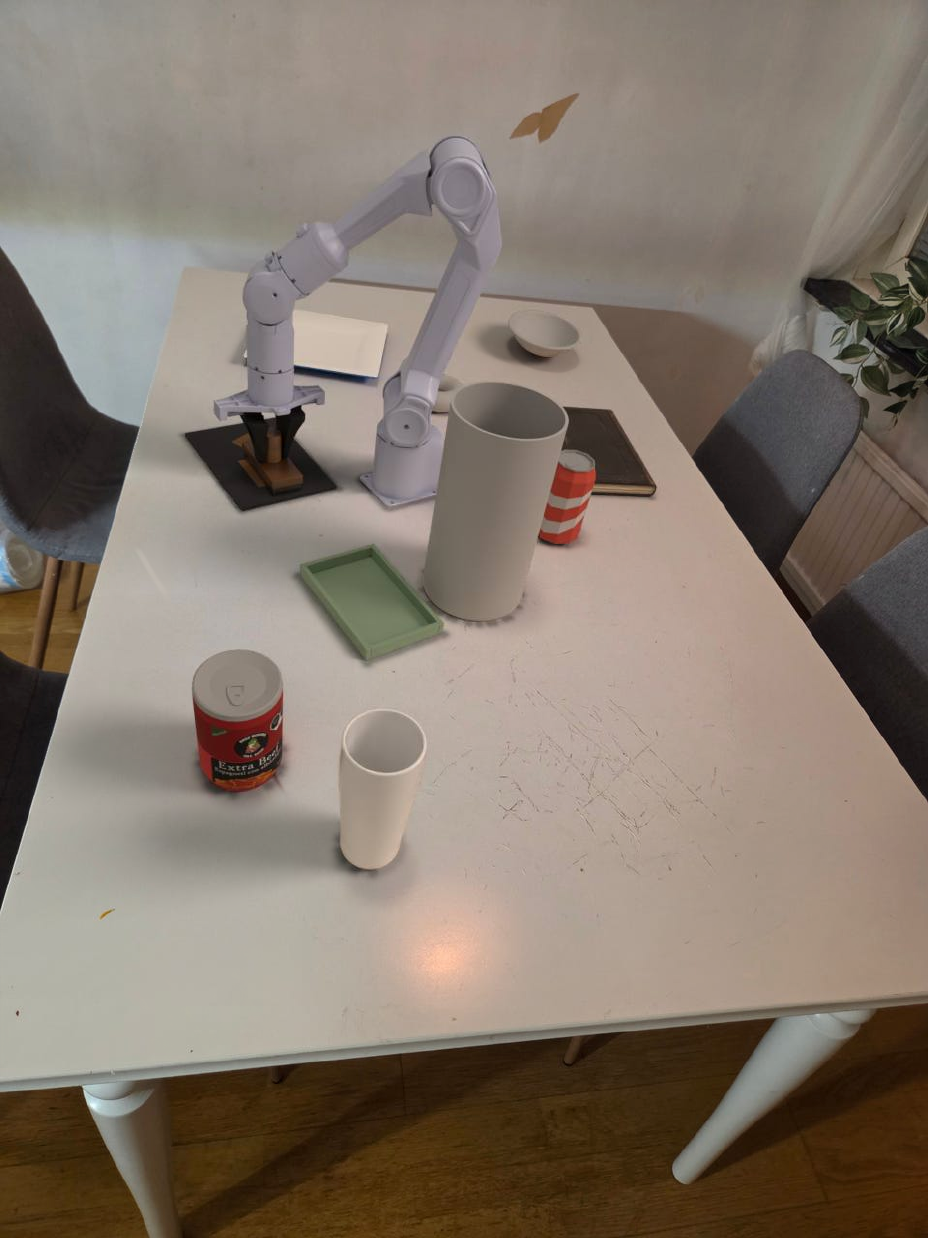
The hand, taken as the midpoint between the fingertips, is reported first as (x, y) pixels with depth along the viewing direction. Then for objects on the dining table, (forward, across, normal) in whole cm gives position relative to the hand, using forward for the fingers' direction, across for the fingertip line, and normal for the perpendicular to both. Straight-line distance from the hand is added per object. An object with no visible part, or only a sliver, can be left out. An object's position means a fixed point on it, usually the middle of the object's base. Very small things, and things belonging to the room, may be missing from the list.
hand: (271, 457), depth 109 cm
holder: (+3, 0, -29) cm, 29 cm away
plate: (+3, +24, +34) cm, 42 cm away
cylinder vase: (+3, +13, -32) cm, 34 cm away
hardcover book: (+3, +49, -11) cm, 51 cm away
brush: (+2, 0, 0) cm, 3 cm away
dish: (+3, +66, +22) cm, 69 cm away
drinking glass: (+3, -16, -57) cm, 60 cm away
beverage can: (+3, +30, -26) cm, 41 cm away
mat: (+3, 0, +4) cm, 5 cm away
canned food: (+3, -22, -44) cm, 49 cm away
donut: (+3, +35, +12) cm, 37 cm away
